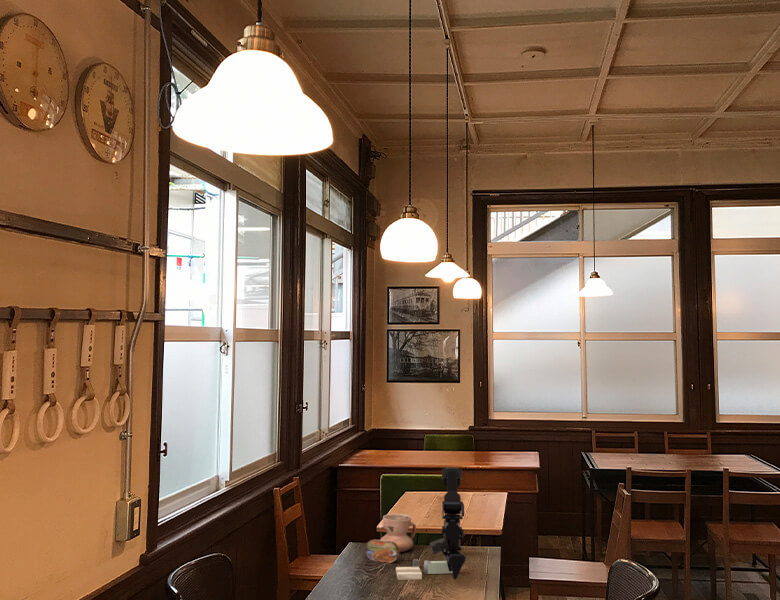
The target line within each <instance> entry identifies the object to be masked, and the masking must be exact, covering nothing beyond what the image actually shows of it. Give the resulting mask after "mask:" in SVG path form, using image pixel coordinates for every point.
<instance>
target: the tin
mask: <svg viewBox="0 0 780 600" xmlns="http://www.w3.org/2000/svg"><path fill="white" fill-rule="evenodd" d="M364 552H365V556H366V557H367V559H368V560H370V561H372V560H373V561H372V562H378V561H379V562H378V563H384V562H386V564H392V563H394V562H396V561H398V558H399V557H400V552H399V547H398V546H397V544H396V543H394V542H392V541H385V540H381V539H375V538H374V539H370V540H369V541H367V542H366V544H365V547H364Z"/></svg>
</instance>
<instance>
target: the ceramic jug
mask: <svg viewBox="0 0 780 600" xmlns="http://www.w3.org/2000/svg"><path fill="white" fill-rule="evenodd" d="M382 520H383V524H378V528H379V529H384V530H385V532H386V534H385V535H384V536H382V537H381V538H380V540H385V541H392V542H394V543H396V544H397V546H398V547H399V553H403V552H407V551H408V550H410V549H412V547H413V546H414V541H413V539H414V537H415V535H416V533H417V525H416V523H415V522H413V521H412V516H410V515H408V514H404V513H388V514H385V515H383V516H382ZM410 527H412V531H411V533H410V534H411V535H410V536H409V535H408V534H407V533H408V530H409V528H410Z"/></svg>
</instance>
